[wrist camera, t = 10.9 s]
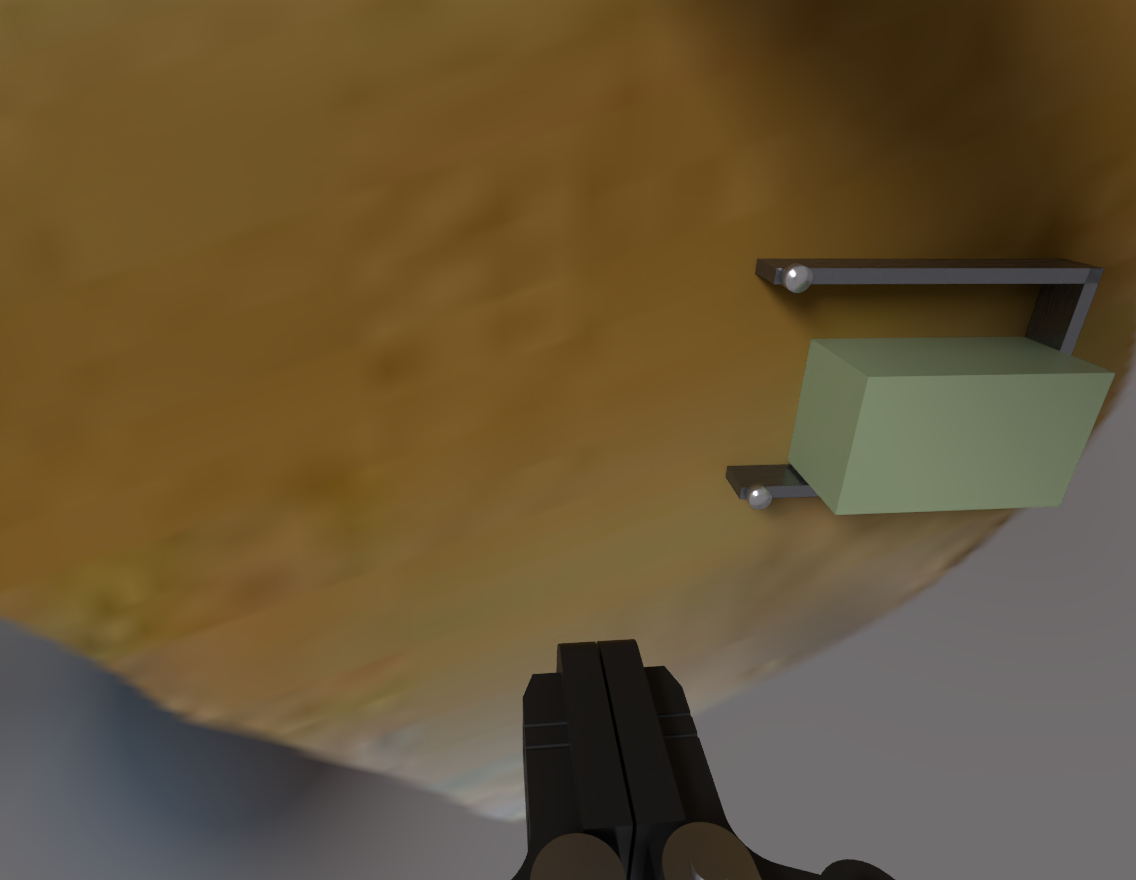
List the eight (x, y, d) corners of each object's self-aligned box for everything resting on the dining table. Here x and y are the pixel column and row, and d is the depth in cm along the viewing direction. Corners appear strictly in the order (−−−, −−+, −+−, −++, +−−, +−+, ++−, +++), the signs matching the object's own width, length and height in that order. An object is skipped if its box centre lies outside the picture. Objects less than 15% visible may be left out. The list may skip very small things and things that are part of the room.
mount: (758, 253, 26) (783, 266, 24) (1066, 254, 27) (1119, 266, 25) (725, 481, 30) (743, 510, 28) (989, 472, 32) (1028, 499, 29)
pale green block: (809, 337, 28) (868, 376, 23) (1020, 335, 29) (1115, 372, 24) (786, 458, 31) (835, 515, 26) (980, 452, 32) (1059, 506, 27)
